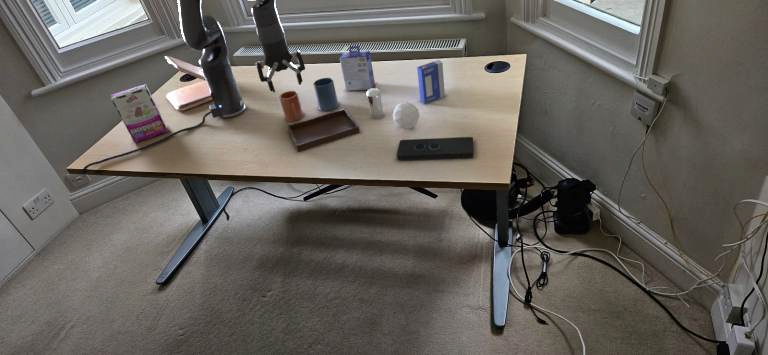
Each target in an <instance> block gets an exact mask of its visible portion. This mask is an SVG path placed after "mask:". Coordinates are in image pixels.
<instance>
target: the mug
mask: <svg viewBox="0 0 768 355" xmlns="http://www.w3.org/2000/svg"><path fill="white" fill-rule="evenodd" d="M278 98H279V101H280V104H281V108H282V111H283V116H284V117H285V120H286V121H287V122H296V121H298V120H301V119H302V118H303V117H304V112H303V108H302V104H301V101H300V97H299V94H298V92H297V91H296V90H289V91H284V92H282V93H281V94H279V96H278Z"/></svg>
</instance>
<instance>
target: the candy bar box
mask: <svg viewBox="0 0 768 355" xmlns="http://www.w3.org/2000/svg"><path fill="white" fill-rule="evenodd" d="M110 96H111V97H110V98H111V99H110V100H111V102H112V104H113V106H114V107H115V110H116V111H117V113H118V115H119V117H120V118H121V120H122V122H123V124H124V126H125V128H126V130H127V132H128V134H129V135H130V138H131V139H132V141H133V143H135V144H136V143H139V142H142V141H145V140H148V139H152V138H154V137H157V136H159V135H162V134H165V133H168V132H169V130H168V127H167V124H166V122H165V121H164V120H165V119H164V118H163V116H162V114H161V112H160V110H159V108H158V106H157V104H156V102H155V100H154V97H153V96H152V94H151V92H150V89H149V87H148V85H147V84H146V83H144V84H142V85H139V86H135V87H132V88H129V89H126V90H123V91H119V92H116V93H113V94H110Z"/></svg>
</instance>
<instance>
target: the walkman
mask: <svg viewBox="0 0 768 355" xmlns="http://www.w3.org/2000/svg"><path fill="white" fill-rule="evenodd" d="M416 70H417V80H418V89H419V97H420V102H422V103H423V104H424V105H426V104H428V103H431V102H434V101H437V100H440V99H442V98H445V97H446V91H445V78H444V65H443V61H441V60H439V59H437V60H434V61H431V62H428V63H426V64H422V65H419V66H417V67H416Z"/></svg>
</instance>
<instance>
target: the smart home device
mask: <svg viewBox="0 0 768 355" xmlns="http://www.w3.org/2000/svg"><path fill="white" fill-rule="evenodd" d="M473 158H474V137H473V136H461V137H460V136H459V137H435V138H414V139H412V138H411V139H401V140H399V142H398V148H397V151H396V159H397V161H425V160H427V161H428V160H455V159H456V160H457V159H473Z"/></svg>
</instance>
